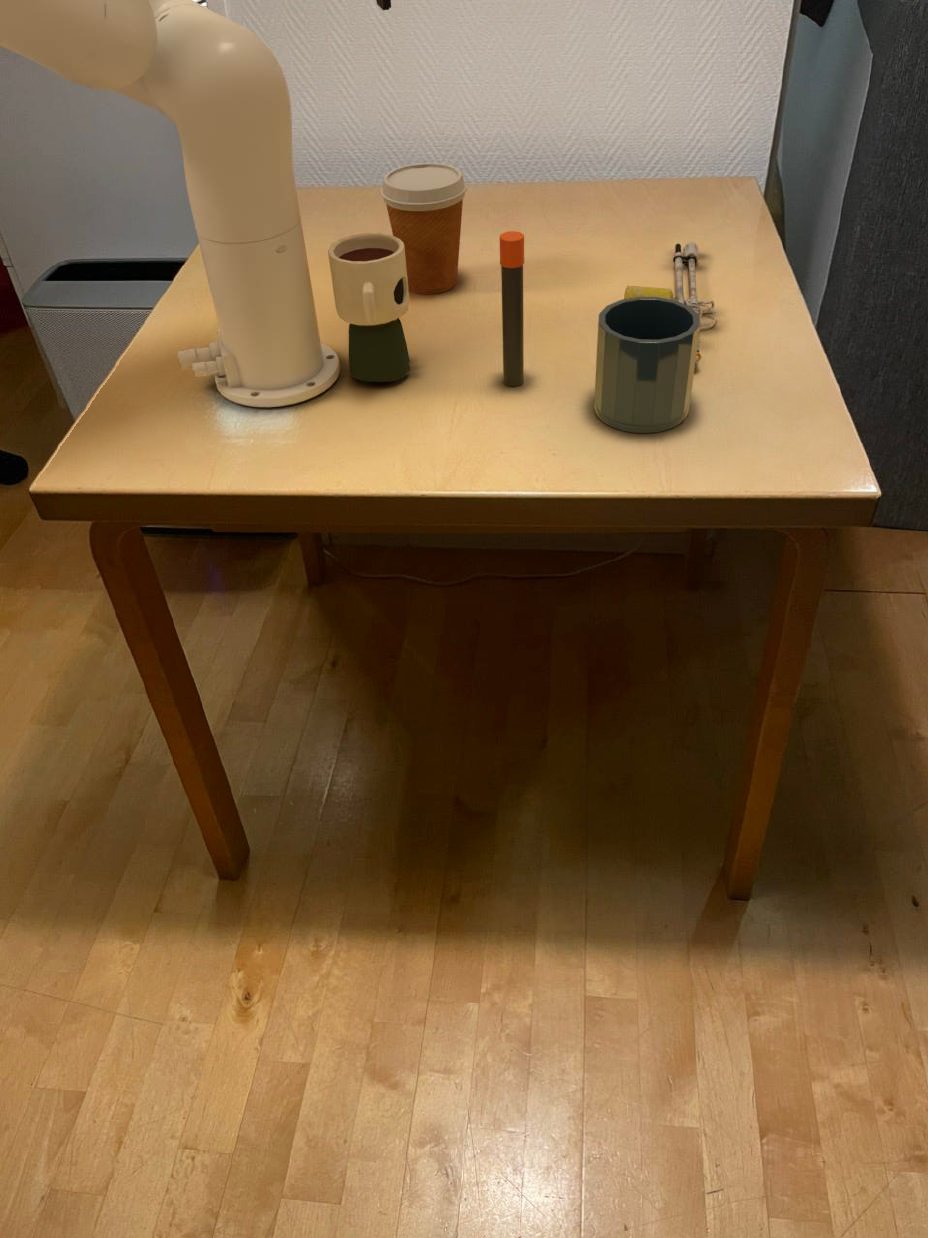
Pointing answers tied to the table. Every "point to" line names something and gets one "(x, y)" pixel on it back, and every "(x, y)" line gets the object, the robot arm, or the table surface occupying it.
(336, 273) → the character mug
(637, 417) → the pencil cup
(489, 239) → the table surface
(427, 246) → the disposable coffee cup
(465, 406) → the table surface
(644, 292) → the flamethrower
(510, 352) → the marker
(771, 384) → the table surface
